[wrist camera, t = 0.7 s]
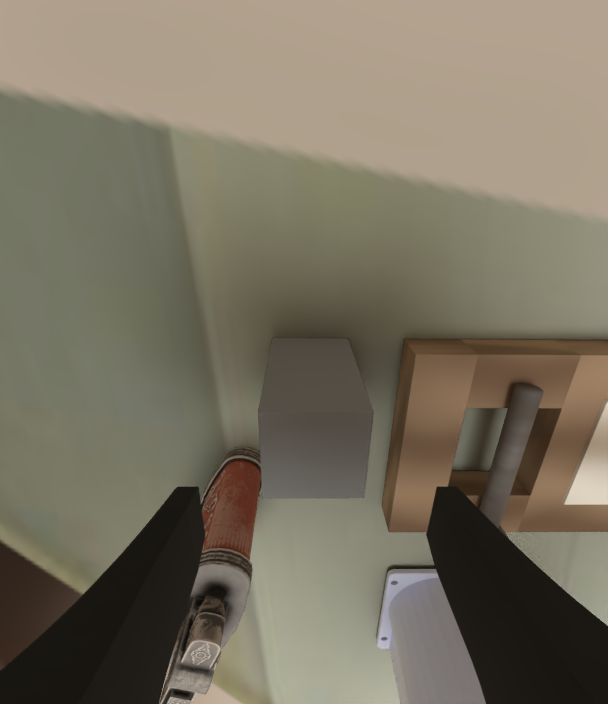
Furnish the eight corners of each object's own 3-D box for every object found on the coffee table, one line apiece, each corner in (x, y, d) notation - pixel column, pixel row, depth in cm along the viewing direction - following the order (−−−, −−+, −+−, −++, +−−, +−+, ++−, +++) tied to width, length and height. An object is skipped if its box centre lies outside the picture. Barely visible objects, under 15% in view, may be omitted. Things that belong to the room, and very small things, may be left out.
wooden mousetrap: (647, 505, 24) (730, 579, 19) (381, 505, 23) (401, 580, 19) (737, 341, 19) (878, 386, 14) (404, 339, 19) (438, 385, 14)
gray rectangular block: (343, 402, 20) (364, 498, 14) (274, 402, 20) (262, 498, 14) (348, 338, 19) (373, 411, 12) (272, 337, 18) (257, 411, 12)
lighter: (224, 440, 21) (166, 625, 12) (277, 456, 22) (260, 646, 12) (189, 528, 24) (120, 731, 15) (236, 541, 25) (198, 744, 15)
